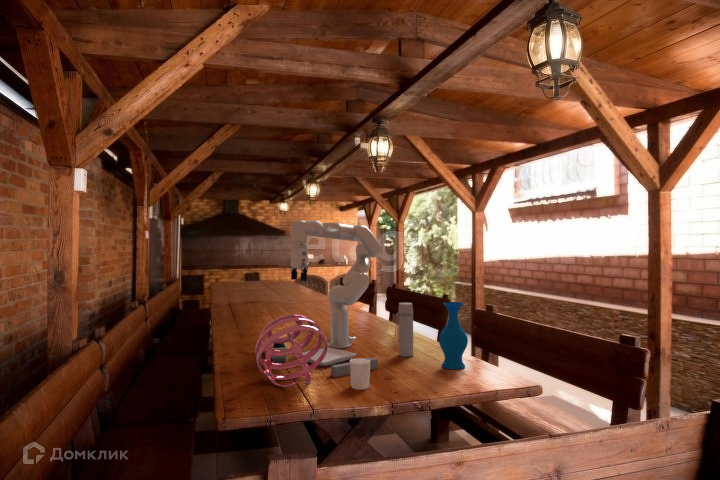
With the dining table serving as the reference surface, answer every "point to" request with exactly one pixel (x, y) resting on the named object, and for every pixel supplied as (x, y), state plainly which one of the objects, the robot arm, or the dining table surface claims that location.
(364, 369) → the white cup
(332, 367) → the rail
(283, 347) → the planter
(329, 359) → the salad plate
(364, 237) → the robot arm
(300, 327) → the spiral basket
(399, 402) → the dining table surface
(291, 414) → the dining table surface
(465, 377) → the dining table surface
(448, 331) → the vase
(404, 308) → the water bottle
